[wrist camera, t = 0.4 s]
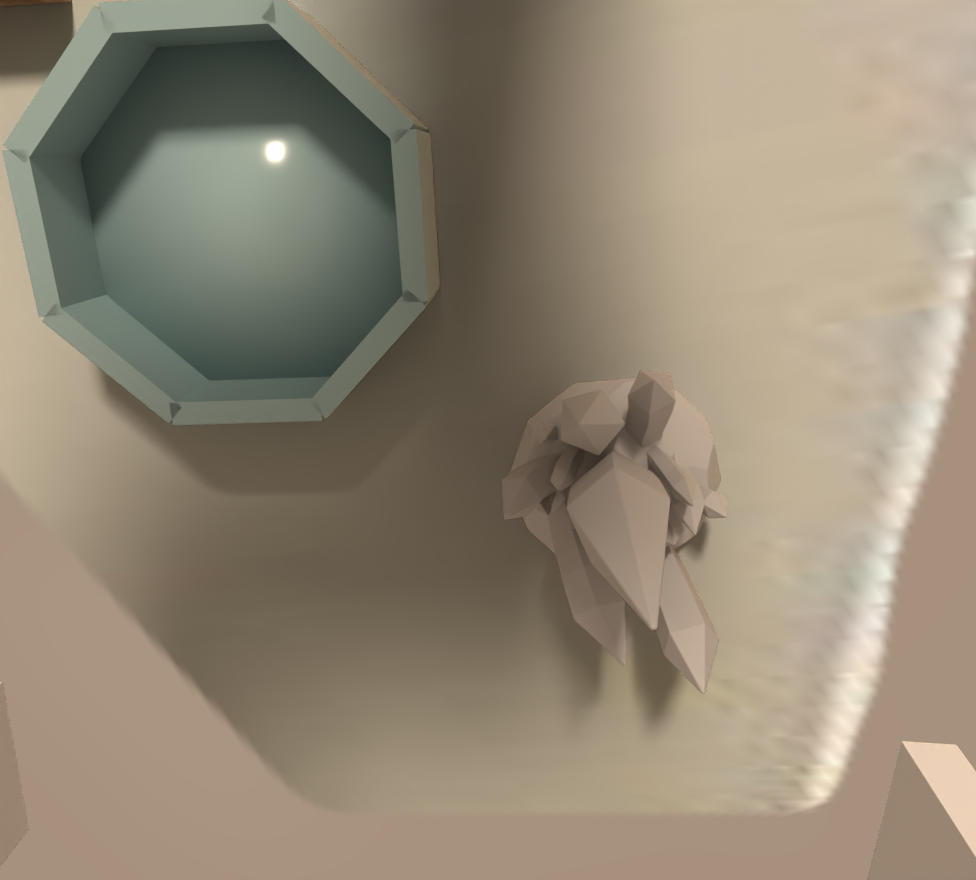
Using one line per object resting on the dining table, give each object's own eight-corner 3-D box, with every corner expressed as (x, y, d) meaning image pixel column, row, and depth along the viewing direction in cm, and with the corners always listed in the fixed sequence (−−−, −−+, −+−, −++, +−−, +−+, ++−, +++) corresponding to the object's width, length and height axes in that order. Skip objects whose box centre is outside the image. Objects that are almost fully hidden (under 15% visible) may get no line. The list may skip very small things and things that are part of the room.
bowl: (41, 30, 34) (-29, 10, 30) (422, 7, 33) (406, -17, 29) (114, 400, 39) (63, 428, 35) (446, 389, 38) (436, 417, 34)
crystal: (578, 630, 42) (604, 869, 28) (466, 405, 38) (430, 546, 24) (764, 559, 40) (894, 775, 26) (665, 317, 36) (752, 412, 22)
